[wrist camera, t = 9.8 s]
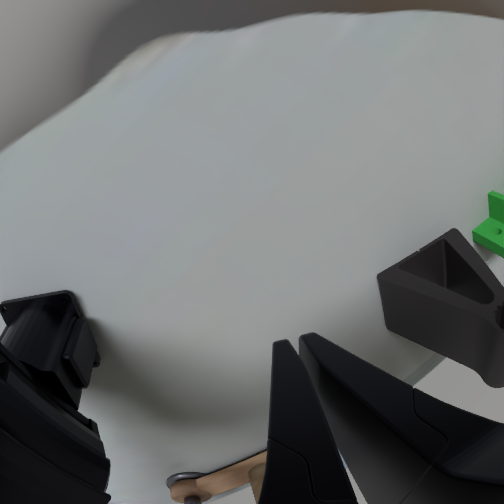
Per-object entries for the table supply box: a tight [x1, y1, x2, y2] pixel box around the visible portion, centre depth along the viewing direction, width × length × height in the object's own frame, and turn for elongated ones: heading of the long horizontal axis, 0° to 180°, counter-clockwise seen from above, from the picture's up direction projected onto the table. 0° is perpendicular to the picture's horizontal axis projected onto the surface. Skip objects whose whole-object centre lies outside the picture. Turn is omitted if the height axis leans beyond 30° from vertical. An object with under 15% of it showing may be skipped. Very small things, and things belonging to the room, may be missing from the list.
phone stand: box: [377, 228, 504, 388], centre depth 20 cm, size 9×6×12 cm, turn 113°
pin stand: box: [166, 472, 207, 504], centre depth 29 cm, size 6×6×5 cm
